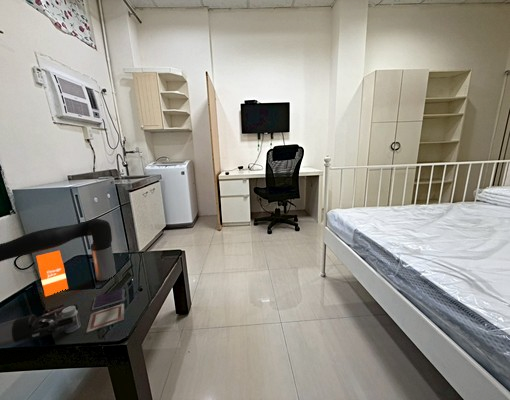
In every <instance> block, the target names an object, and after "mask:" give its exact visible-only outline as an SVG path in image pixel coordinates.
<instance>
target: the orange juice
mask: <svg viewBox="0 0 510 400" xmlns="http://www.w3.org/2000/svg"><path fill="white" fill-rule="evenodd" d="M36 262H37V266H38V272H39V276H40V279H41V280H40V281H41V284H42V288H43V293H44V297H48V296H51V295H54V293H55V294H57V292H58V293H61V292H63V291H66V290H69V285H68V280H67V276H66V271H65V265H64V262H63V259H62V254H61V250H56V251H51V252H46V253H43V254H39V255H36ZM65 289H66V290H65ZM62 290H63V291H62ZM60 291H61V292H60Z"/></svg>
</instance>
